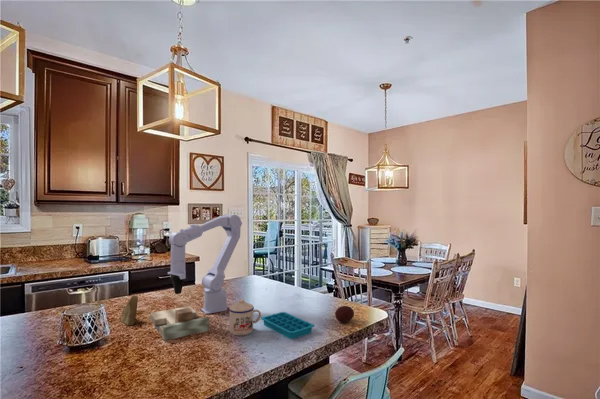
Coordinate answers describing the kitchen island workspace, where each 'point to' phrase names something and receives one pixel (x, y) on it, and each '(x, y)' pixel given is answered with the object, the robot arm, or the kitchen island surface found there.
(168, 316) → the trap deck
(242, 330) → the teacup with lid
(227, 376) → the kitchen island surface
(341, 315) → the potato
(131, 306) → the rock
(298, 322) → the ice cube tray
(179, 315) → the block
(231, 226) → the robot arm
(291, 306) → the kitchen island surface
